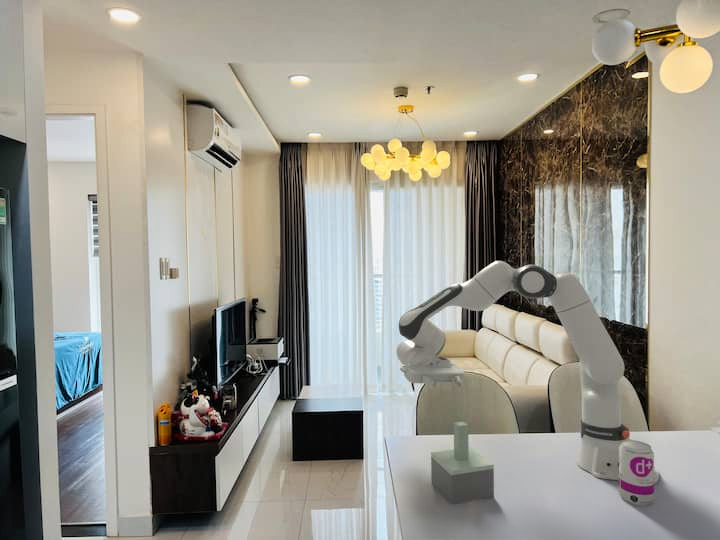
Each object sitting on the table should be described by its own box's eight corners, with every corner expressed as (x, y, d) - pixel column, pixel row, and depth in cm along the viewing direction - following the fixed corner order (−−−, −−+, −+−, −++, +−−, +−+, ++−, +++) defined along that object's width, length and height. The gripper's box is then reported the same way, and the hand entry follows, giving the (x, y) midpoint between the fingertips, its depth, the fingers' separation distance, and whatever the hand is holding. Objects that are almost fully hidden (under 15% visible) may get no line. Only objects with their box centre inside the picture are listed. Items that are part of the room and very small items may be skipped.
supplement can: (659, 508, 124) (659, 451, 124) (625, 505, 126) (624, 449, 125) (647, 493, 132) (646, 440, 132) (615, 490, 133) (614, 438, 133)
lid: (470, 455, 143) (469, 414, 143) (493, 474, 131) (493, 428, 131) (431, 461, 140) (430, 419, 140) (451, 480, 127) (450, 434, 127)
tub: (470, 477, 143) (470, 451, 143) (493, 497, 131) (493, 468, 131) (431, 483, 140) (431, 456, 140) (451, 504, 127) (451, 475, 127)
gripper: (399, 357, 153) (419, 375, 140) (452, 358, 160) (476, 375, 148) (396, 375, 154) (415, 394, 141) (448, 376, 161) (472, 393, 149)
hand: (447, 384), depth 144 cm, fingers open, 8 cm apart
